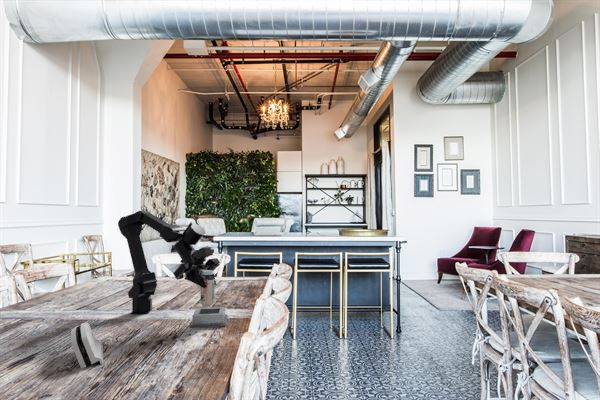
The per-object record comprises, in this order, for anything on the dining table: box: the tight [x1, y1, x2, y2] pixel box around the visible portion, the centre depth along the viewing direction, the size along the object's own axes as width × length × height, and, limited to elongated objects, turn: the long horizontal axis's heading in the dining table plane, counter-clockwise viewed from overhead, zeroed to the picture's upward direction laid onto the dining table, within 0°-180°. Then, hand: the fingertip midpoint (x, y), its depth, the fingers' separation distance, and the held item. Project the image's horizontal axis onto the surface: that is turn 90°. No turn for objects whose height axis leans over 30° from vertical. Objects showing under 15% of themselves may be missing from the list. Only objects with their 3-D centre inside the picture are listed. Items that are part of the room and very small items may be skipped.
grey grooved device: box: [70, 322, 104, 369], centre depth 104 cm, size 17×5×10 cm, turn 28°
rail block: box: [189, 306, 228, 329], centre depth 136 cm, size 12×12×4 cm
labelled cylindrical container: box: [200, 270, 216, 306], centre depth 135 cm, size 5×5×12 cm
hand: (210, 286), depth 135 cm, fingers closed on labelled cylindrical container, 5 cm apart
